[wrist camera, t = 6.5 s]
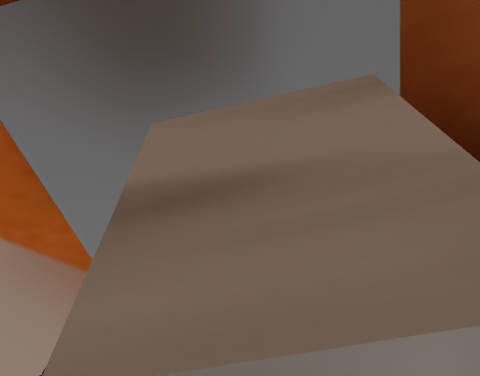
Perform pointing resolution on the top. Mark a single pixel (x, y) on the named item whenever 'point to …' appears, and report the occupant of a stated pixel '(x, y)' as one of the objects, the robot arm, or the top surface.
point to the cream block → (287, 246)
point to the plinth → (163, 76)
